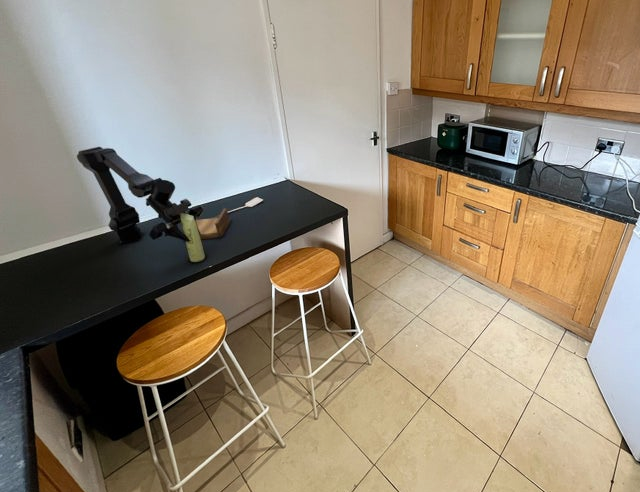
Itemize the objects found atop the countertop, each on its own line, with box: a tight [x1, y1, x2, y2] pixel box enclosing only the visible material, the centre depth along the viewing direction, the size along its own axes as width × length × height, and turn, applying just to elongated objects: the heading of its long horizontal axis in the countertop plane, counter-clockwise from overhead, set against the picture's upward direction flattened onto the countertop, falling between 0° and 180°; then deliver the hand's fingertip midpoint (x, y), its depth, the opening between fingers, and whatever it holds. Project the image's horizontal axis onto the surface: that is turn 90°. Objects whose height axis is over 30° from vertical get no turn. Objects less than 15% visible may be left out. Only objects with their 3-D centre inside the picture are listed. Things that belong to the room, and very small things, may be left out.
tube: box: [180, 212, 206, 263], centre depth 117 cm, size 6×5×20 cm
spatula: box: [210, 196, 264, 219], centre depth 156 cm, size 6×29×2 cm, turn 145°
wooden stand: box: [196, 207, 231, 240], centre depth 138 cm, size 14×14×7 cm
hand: (194, 238), depth 117 cm, fingers closed on tube, 4 cm apart
